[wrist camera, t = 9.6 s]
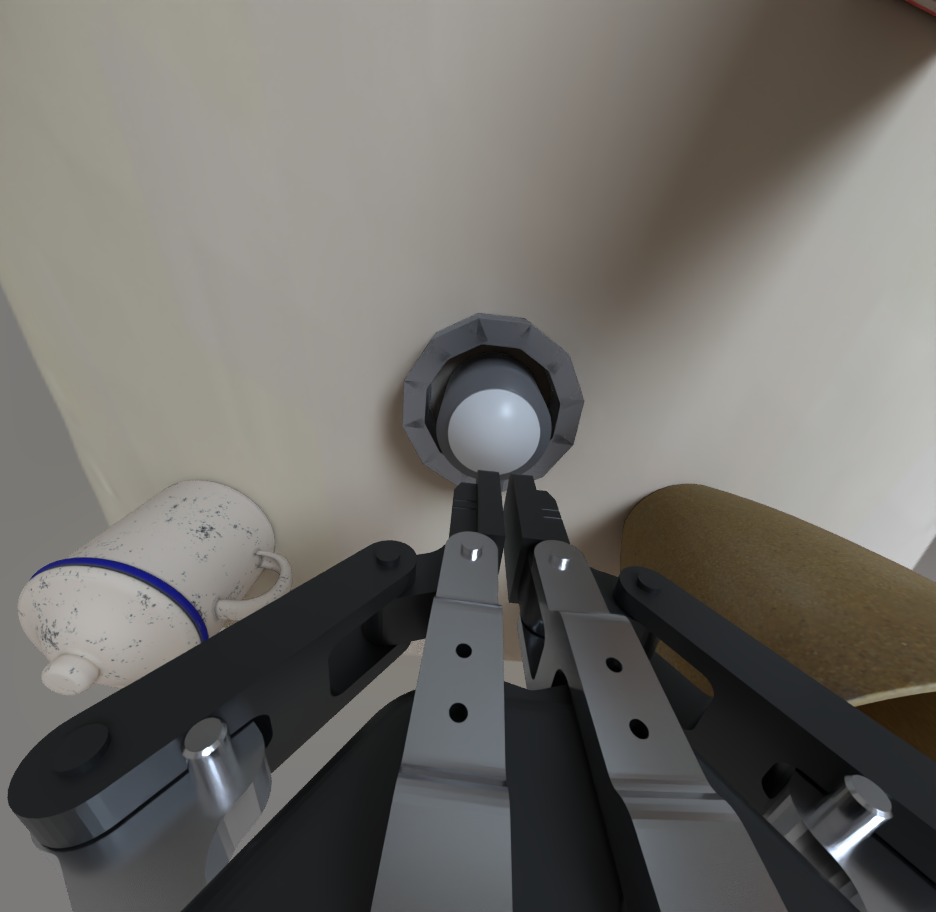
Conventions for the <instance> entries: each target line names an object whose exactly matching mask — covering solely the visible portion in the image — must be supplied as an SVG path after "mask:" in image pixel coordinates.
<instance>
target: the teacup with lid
mask: <svg viewBox="0 0 936 912" xmlns="http://www.w3.org/2000/svg"><path fill="white" fill-rule="evenodd" d="M274 547H275V538H274V533H273V529H272V527H271V524H270V522H269V520H268V519H267V517H266V516H265V514H264V513H263V512H262V510H261V509H260V508H259V507H258V506H257V505H256V504H255V503H254V502H253V501H251V500H250V499H249V498H248V497H246V496H245V495H243V494H242V493H240V492H238V491H236V490H234V489H232V488H230V487H228V486H225V485H222V484H219V483H215V482H210V481H202V480H192V481H184V482H180V483H176V484H174V485H171V486H169V487H168V488H166V489H164V490H163V491H162V492H160V493H159V494H157V495H156V496H154V497H153V498H151V499H150V500H149V501H147V502H146V503H144V504H143V505H141V506H140V507H138V508H137V509H136V510H134V511H133V512H131V513H130V514H128V515H127V516H126V517H124V518H123V519H121V520H120V521H118V522H117V523H115V524H114V525H113V526H111V527H110V528H108V529H107V530H105V531H104V532H102V533H101V534H100V535H98V536H97V537H95V538H94V539H92V540H91V541H90V542H88V543H87V544H85V545H84V546H82V547H81V548H79V549H78V550H77V551H75V552H74V553H72V554H71V555H70V556H68V557H67V558H65V559H63V560H59V561H56V562H53V563H50V564H48V565H46V566H44V567H43V568H41V569H40V570H39V571H37V572H36V573H35V574H34V575H33V576H32V578H31V579H30V580H29V582H28V583H27V584H26V585H25V587H24V588H23V590H22V593H21V595H20V597H19V601H18V616H19V620H20V623H21V625H22V628H23V630H24V631H25V633H26V635H27V636H28V637H29V639H30V640H31V641H32V643H33V644H34V645H35V646H36V647H37V648H38V649H39V650H40V651H41V652H42V653H44V654H45V656H46V657H47V659H48V660H49V661H50V663H49V664H48V665H47V666H46V667H45V669H44V670H43V673H42V682H43V683H44V684H45V685H46V687H48V688H49V689H50V690H52V691H54V692H56V693H60V694H64V695H76V694H79V693H81V692H83V691H85V690H87V689H88V688H89V687H90V686H91V685H92V684H99V685H107V686H111V687H116V688H124V687H126V686H128V685H129V684H131V683H133V682H134V681H136V680H138V679H140V678H141V677H143V676H145V675H147V674H148V673H150V672H152V671H153V670H155V669H157V668H159V667H160V666H162V665H164V664H166V663H167V662H169V661H171V660H173V659H174V658H176V657H178V656H179V655H181V654H183V653H185V652H186V651H188V650H190V649H192V648H193V647H195V646H197V645H198V644H200V643H202V642H204V641H205V640H207V639H209V638H211V637H212V636H214V635H216V634H217V633H218V632H219V631H220V630H221V628H222V627H223V625H224V624H225V623H226V621H227V620H234V621H240V620H242V619H243V618H245V617H247V616H249V615H250V614H252V613H254V612H255V611H257V610H259V609H261V608H262V607H264V606H266V605H268V604H269V603H271V602H273V601H274V600H276V599H278V598H280V597H281V596H283V595H285V594H287V593H288V592H290V590H291V586H292V580H293V577H292V570H291V566H290V564H289V562H288V561H287V559H286V558H284V557H283V556H281V555H279V554H277V553H273V552H274ZM264 568H265V569H270V570H273V571H275V572H277V573H278V574H279V578H278V580H277V582H276V584H275V585H274V586H273V587H272V589H270V590H269V591H268V592H267V593H265V594H263V595H261V596H258V597H256V598H252V599H248V600H242V599H243V598H244V596H245V595H246V593H247V592H248V591H249V589H250V588H251V586H252V585H253V584H254V582H255V581H256V580H257V578H258V577H259V575H260V574H261V573H262V571H263V570H264Z"/></svg>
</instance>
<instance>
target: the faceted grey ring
mask: <svg viewBox="0 0 936 912" xmlns="http://www.w3.org/2000/svg"><path fill="white" fill-rule="evenodd" d="M481 344H485V345H494V346H503V347H511V348H520V349H521V350H523V351H524V352H525V353H526V354H528V355H529V356H530V357H532V358H533V359H534V360H535V361H537V362H538V363H539V364H540V365H542V366H543V367H544V369H545V372H546V375H547V377H548V380H549V383H550V386H551V389H552V394H551V399H550V403H549V408H548V411H549V414H550V418H551V437H550V441H549V444H548V446H547V449H546V451H545V452H544V454H543V456H542V457H541V458H540V460H539V461H538V462H537V463H536V464H535V465H534V466H533V467H532V468H530V469H529V470H528V471H526V472H524V473H523V475H532V476H533V479H534V480H536V479H539V478H541V477H543V476H544V475H545V474H546V473H547V472H548V471H549V470H550V469H551V468H552V467H553V466H554V465H555V464H556V463H557V461H558V460H559V459H560V458H561V457H562V456H563V455H564V454H565V453H566V452H567V451H568V450H569V449H570V448H571V447H572V446H573V444H574V440H575V436H576V432H577V428H578V424H579V420H580V416H581V412H582V408H583V404H584V399H583V395H582V392H581V389H580V386H579V383H578V380H577V377H576V374H575V371H574V368H573V364H572V361H571V358H570V356H569V355H568V354H567V353H566V352H565V351H564V350H563V349H562V348H561V347H559V346H558V345H557V344H556V343H554V342H553V341H552V340H551V339H550V338H548V337H547V336H546V335H545V334H543V333H542V332H541V331H540V330H538V329H537V328H536V327H535V326H534V325H532V324H531V323H530V322H529V321H527V320H526V319H525V318H517V317H508V316H500V315H491V314H483V313H477V314H475V315H473V316H471V317H469V318H467V319H465V320H462V321H460V322H458V323H456V324H454V325H452V326H449V327H447V328H445V329H443V330H441V331H439V332H436V334H435V335H434V337H433V338H432V339H431V341H430V343H429V344H428V346H427V347H426V349H425V350H424V352H423V353H422V355H421V356H420V358H419V359H418V361H417V362H416V364H415V365H414V367H413V368H412V370H411V371H410V373H409V374H408V376H407V377H406V378H405V380H404V398H403V428H404V430H405V432H406V433H407V435H408V437H409V439H410V441H411V443H412V444H413V446H414V448H415V450H416V452H417V453H418V455H419V457H420V459H421V461H422V463H423V464H424V465H426V466H427V467H429V468H430V469H432V470H433V471H435V472H436V473H438V474H440V475H441V476H443V477H444V478H446V479H447V480H449V481H450V482H452V483H454V484H455V485H457V486H458V485H459V484H460V483H461V482H465V483H474V484H476V479H475V478H472V477H469V476H467V475H465V474H463V473H461V472H460V471H459V470H457V469H456V468H455V467H454V466H452V465H451V464H450V463H449V461H448V460H447V459H446V458H445V456H444V454H443V453H442V451H441V449H440V446H439V443H438V440H437V433H436V426H437V421H436V419H435V417H434V415H433V413H432V411H431V409H430V397H431V383H432V381H433V379H434V378H435V376H436V375H437V374H438V372H439V371H440V369H441V368H442V366H443V365H444V364H445V362H446V361H447V360H448V359H450V358H452V357H454V356H457V355H459V354H461V353H463V352H466V351H468V350H470V349H472V348H474V347H477V346H479V345H481ZM508 482H509V479H507V480H502V481H500V486H501V492H502V491H505V490H507V487H508Z"/></svg>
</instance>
